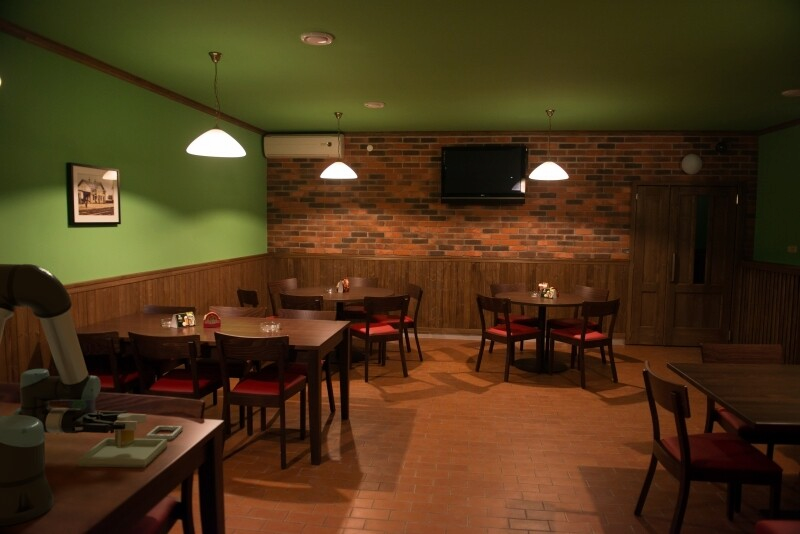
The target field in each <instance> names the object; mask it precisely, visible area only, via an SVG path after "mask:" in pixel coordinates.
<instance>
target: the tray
mask: <svg viewBox="0 0 800 534" xmlns="http://www.w3.org/2000/svg"><path fill="white" fill-rule="evenodd" d="M167 447H168V440H167V439H146V438H139V437H138V438H135V437H134V445H133V446H131V447H128V448H116V447H115V437H105V438H104V439H103V440H101V441H100V442H99V443H97V444H96V445H94V446H93V447H92V448H90V449H88V450H87V451H86V452H84V453H83V454H81V455H80V456H79V457H77V467H93V468H94V467H97V468H101V467H102V468H103V467H104V468H106V467H107V468H146V467H147V466H148V465H150V464H151V462H153V461H154V460H155V459H156V458H157V457H158V456H159V455H160V454H161V453H162V452H163V451H164V450H165V449H166V448H167Z"/></svg>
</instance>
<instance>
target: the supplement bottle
mask: <svg viewBox="0 0 800 534" xmlns="http://www.w3.org/2000/svg"><path fill="white" fill-rule="evenodd" d="M131 414H132V413H128V412H127V413H124V414H120V415H118V416H117V421H132V420H131V418H132V416H131ZM114 438H115V447H116V448H128V447H131V446H133V445H134V438H135V430H115V429H114Z"/></svg>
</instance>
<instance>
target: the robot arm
mask: <svg viewBox="0 0 800 534" xmlns="http://www.w3.org/2000/svg"><path fill="white" fill-rule="evenodd" d="M16 307H21V308H22V307H24V308H25V307H26V308H30V309H31V312H32V314H33V315H34V317H35V318H37V319H39V321H40V323H41V326H42V330H43V332H44V335H45V338H46V341H47V344H48V348H49V350H50V353H51V355H52V356H51V357H52V359H53V363H54V364H55V368H56V370H57V373H58V375H57V376H54V375H53V376H51V375H50V371H49V370H48V369H47V368H34V369H29V370H26V371H24V372H22V373H21V375H20V385H19V390H20V407H19V408H17V409H15V411H14V412H13V414H11V415H4V416H3V415H2V416H0V527H4V526H12V525H16V524H21V523H25V522H28V521H31V520H34V519H35V518H38V517H40V516H43V515H44V514H45V513H47V512H48V511H50V509H52V508H53V506H54V504H55V502H54V501H55V500H54V497H55V496H54V492H53V491H52V488H51V486H50V483H49V481H48V478H47V477H46V461H45V460H46V458H45V457H46V452H45V451H46V450H45V439H46V434H51V433H52V434H53V433H54V434H56V435H59V434H79V433H80V434H81V433H91V434H92V433H95V434H108V433H109V432H110V434H115V430H134V432H136V431H138V424H147V413H146V414H145V413H144V414H143V413H142V414H141V413H130V414H131V416H132V418H131V420H132V421H117V416H118V415H120V414H124V413H128V411H127V410H96V412H95V413H88V414H86V413H85V412H84V411H83V410H82V409H77V408H70V409H69V407H68V408H67V407H50V406H51V405H50V404H51V402H58V401H59V402H63V401H68V402H69V401H83V400H93V399H95V400H96V399H97V397H98V396H99V394H100V391H101V389H102V388H101V387H102V385H101V379H100V377H98V376H97V375H89V371H88V369H87V365H86V362H85V358H84V355H83V351H82V348H81V345H80V342H79V338H78V334H77V332H76V328H75V324H74V320H73V317H72V314H71V311H70V310H71V309H72V308H73V303H72V300H71V295H70V294H69V292H68V290H67V289H66V287H65V286H64V284H63V283H62V282H61V281H60V279H59V278H58V277H56V276H55V274H53V273H52V272H50V271H49V270H48V269H45V268H43V267H41V266H39V265H36V264H29V263H23V264H21V263H20V264H19V263H16V264H14V263H0V345H1V343H2V339H3V333H4V329H5V325H6V321H7V320H8V319H10V318H12V317H13V316H14V314H15V310H16ZM45 433H46V434H45Z"/></svg>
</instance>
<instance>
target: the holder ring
mask: <svg viewBox="0 0 800 534" xmlns="http://www.w3.org/2000/svg"><path fill="white" fill-rule="evenodd" d="M159 430H171V431H170V432H172V433H171V434H165V433H163V434H161V433H159V432H160V431H159ZM182 430H184V426H183V425H157V426H155V427H154V428H153V429H152V430H150V431H149V432H148V433H147V434H146V435H145V439H167V441H173V440H175V438H176V437H177V436H179V435H180V432H181V431H182ZM182 432H183V431H182ZM182 432H181V433H182Z"/></svg>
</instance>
